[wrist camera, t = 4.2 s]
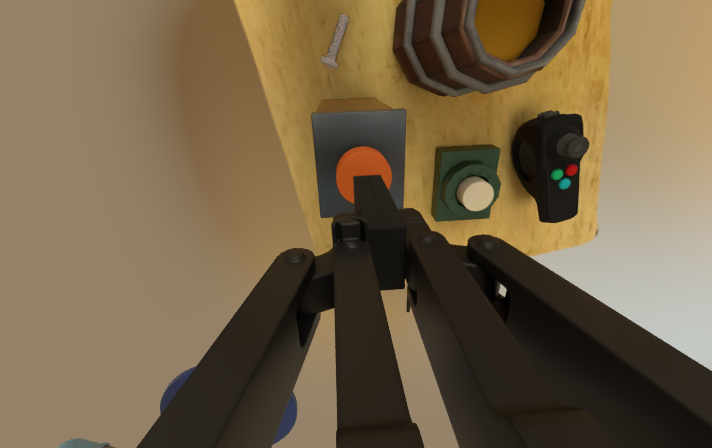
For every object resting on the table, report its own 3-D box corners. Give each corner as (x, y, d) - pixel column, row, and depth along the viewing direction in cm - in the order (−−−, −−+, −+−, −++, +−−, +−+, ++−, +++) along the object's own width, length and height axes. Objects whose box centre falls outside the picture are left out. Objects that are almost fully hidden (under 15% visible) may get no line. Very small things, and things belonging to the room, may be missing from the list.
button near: (388, 195, 23) (391, 203, 21) (337, 198, 22) (338, 206, 21) (388, 145, 21) (392, 149, 20) (334, 147, 21) (334, 152, 20)
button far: (483, 203, 39) (491, 210, 37) (454, 205, 39) (461, 212, 37) (488, 175, 37) (496, 180, 35) (458, 176, 37) (464, 182, 35)
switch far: (482, 211, 43) (495, 224, 40) (431, 214, 43) (440, 228, 39) (492, 144, 39) (508, 152, 36) (436, 147, 39) (446, 155, 35)
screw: (319, 63, 34) (318, 62, 32) (335, 12, 32) (335, 9, 30) (336, 71, 35) (336, 71, 33) (353, 21, 33) (355, 18, 31)
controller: (538, 101, 37) (603, 111, 28) (541, 195, 43) (598, 228, 34) (501, 112, 38) (555, 125, 29) (510, 204, 43) (557, 240, 34)
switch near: (376, 161, 39) (403, 213, 25) (324, 163, 39) (320, 218, 24) (376, 94, 36) (406, 110, 21) (319, 97, 36) (311, 114, 21)
